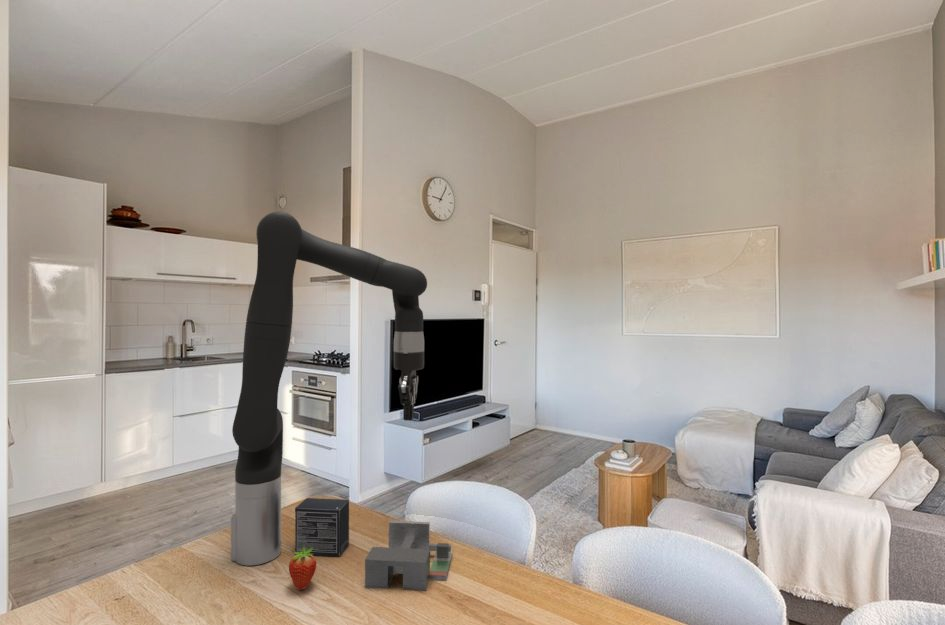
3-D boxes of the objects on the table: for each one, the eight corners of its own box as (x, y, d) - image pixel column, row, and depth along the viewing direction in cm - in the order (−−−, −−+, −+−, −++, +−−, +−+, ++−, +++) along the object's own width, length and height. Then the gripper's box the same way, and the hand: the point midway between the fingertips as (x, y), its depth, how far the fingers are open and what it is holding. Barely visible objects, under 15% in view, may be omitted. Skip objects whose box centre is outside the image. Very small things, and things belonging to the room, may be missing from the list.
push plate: (376, 579, 96) (376, 544, 96) (389, 551, 107) (389, 520, 107) (444, 582, 95) (444, 547, 95) (451, 554, 106) (451, 523, 106)
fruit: (283, 588, 93) (283, 547, 93) (307, 577, 97) (307, 538, 97) (297, 599, 90) (297, 557, 90) (322, 587, 94) (322, 546, 93)
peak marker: (436, 557, 103) (436, 546, 103) (437, 553, 105) (437, 542, 105) (447, 557, 103) (447, 546, 103) (448, 553, 104) (448, 543, 104)
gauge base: (365, 587, 94) (365, 559, 94) (383, 551, 107) (383, 527, 107) (443, 591, 92) (443, 563, 92) (452, 554, 106) (452, 530, 106)
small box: (350, 543, 111) (350, 498, 111) (340, 557, 105) (340, 510, 105) (306, 540, 112) (307, 496, 112) (293, 555, 106) (293, 507, 106)
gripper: (400, 347, 126) (399, 413, 126) (387, 352, 112) (386, 425, 112) (428, 347, 125) (428, 413, 125) (418, 352, 112) (418, 426, 112)
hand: (408, 419), depth 119 cm, fingers closed
